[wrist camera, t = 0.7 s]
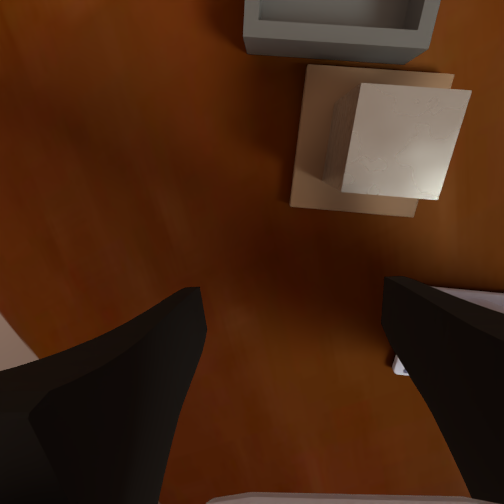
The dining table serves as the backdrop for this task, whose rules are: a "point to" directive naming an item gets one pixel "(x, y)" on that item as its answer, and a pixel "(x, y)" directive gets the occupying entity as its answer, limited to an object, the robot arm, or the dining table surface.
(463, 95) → the grey block
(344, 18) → the bin
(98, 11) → the dining table surface
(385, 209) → the stud plate
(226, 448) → the dining table surface
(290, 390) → the dining table surface
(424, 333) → the robot arm
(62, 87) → the dining table surface
